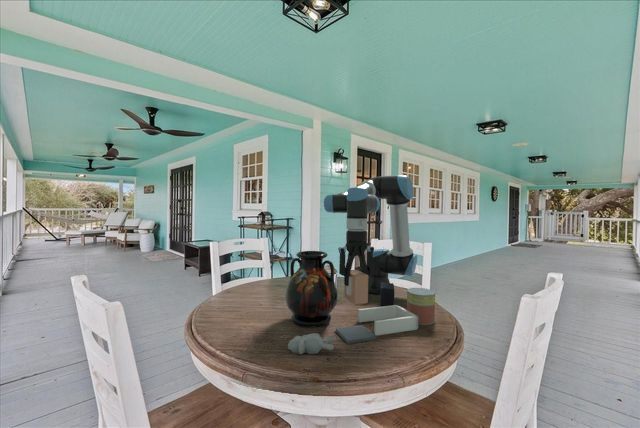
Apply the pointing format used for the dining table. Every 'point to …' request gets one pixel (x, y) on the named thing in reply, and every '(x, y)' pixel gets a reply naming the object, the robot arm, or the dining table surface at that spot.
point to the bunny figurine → (310, 344)
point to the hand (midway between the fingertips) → (355, 293)
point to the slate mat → (355, 334)
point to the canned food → (422, 304)
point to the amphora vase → (311, 290)
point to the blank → (358, 287)
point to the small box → (387, 294)
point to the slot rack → (399, 323)
